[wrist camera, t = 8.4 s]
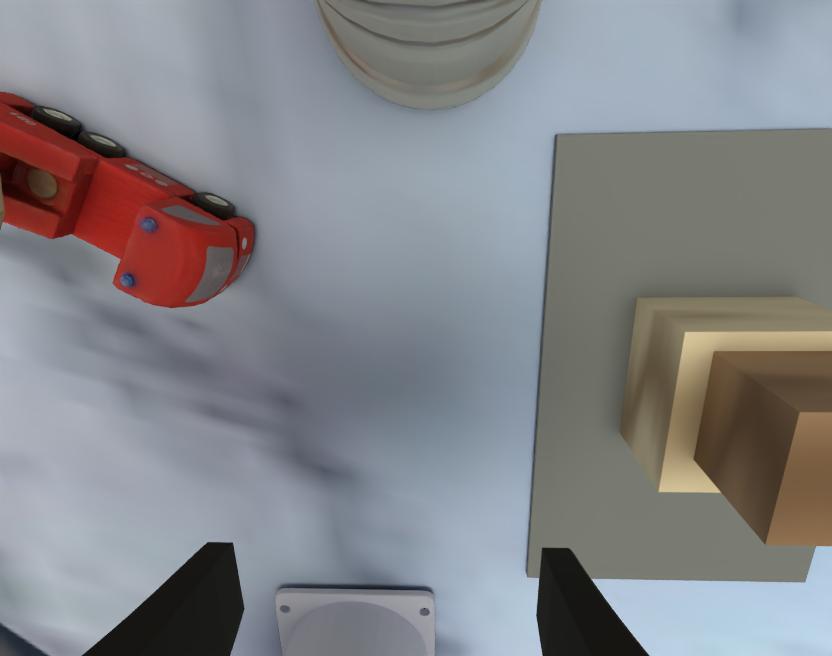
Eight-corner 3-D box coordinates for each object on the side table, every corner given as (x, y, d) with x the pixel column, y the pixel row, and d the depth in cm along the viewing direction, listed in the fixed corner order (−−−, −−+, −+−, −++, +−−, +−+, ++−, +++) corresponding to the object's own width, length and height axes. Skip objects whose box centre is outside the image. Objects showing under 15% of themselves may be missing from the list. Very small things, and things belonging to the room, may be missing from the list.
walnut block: (813, 460, 17) (920, 547, 13) (693, 459, 17) (765, 545, 13) (844, 350, 16) (972, 413, 12) (713, 351, 16) (799, 412, 12)
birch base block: (763, 433, 21) (834, 493, 17) (619, 432, 21) (658, 492, 18) (796, 296, 19) (883, 331, 15) (637, 297, 20) (685, 331, 16)
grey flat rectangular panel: (800, 577, 24) (805, 582, 24) (526, 572, 25) (527, 577, 24) (933, 127, 17) (941, 126, 17) (555, 135, 18) (557, 134, 18)
